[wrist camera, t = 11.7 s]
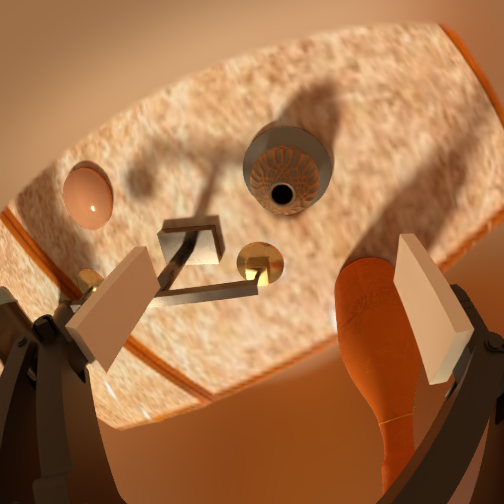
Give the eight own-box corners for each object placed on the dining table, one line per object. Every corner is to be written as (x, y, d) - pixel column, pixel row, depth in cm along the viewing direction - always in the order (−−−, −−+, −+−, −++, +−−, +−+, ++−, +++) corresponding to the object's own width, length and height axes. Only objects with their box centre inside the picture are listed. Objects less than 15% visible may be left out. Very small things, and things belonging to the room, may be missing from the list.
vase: (251, 145, 30) (234, 160, 22) (313, 138, 28) (319, 150, 21) (260, 202, 33) (248, 235, 25) (319, 197, 31) (325, 229, 24)
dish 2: (250, 211, 35) (249, 214, 34) (238, 131, 30) (236, 132, 29) (331, 206, 33) (332, 209, 32) (326, 124, 28) (327, 124, 27)
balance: (123, 261, 42) (69, 323, 29) (113, 233, 40) (51, 290, 27) (287, 256, 37) (278, 343, 24) (284, 219, 35) (273, 298, 21)
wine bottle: (328, 307, 40) (329, 517, 15) (337, 250, 35) (363, 504, 10) (388, 309, 39) (426, 502, 13) (405, 254, 34) (486, 471, 8)
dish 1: (78, 229, 41) (74, 232, 40) (60, 174, 36) (56, 176, 35) (120, 224, 39) (117, 226, 38) (102, 160, 34) (98, 162, 33)
